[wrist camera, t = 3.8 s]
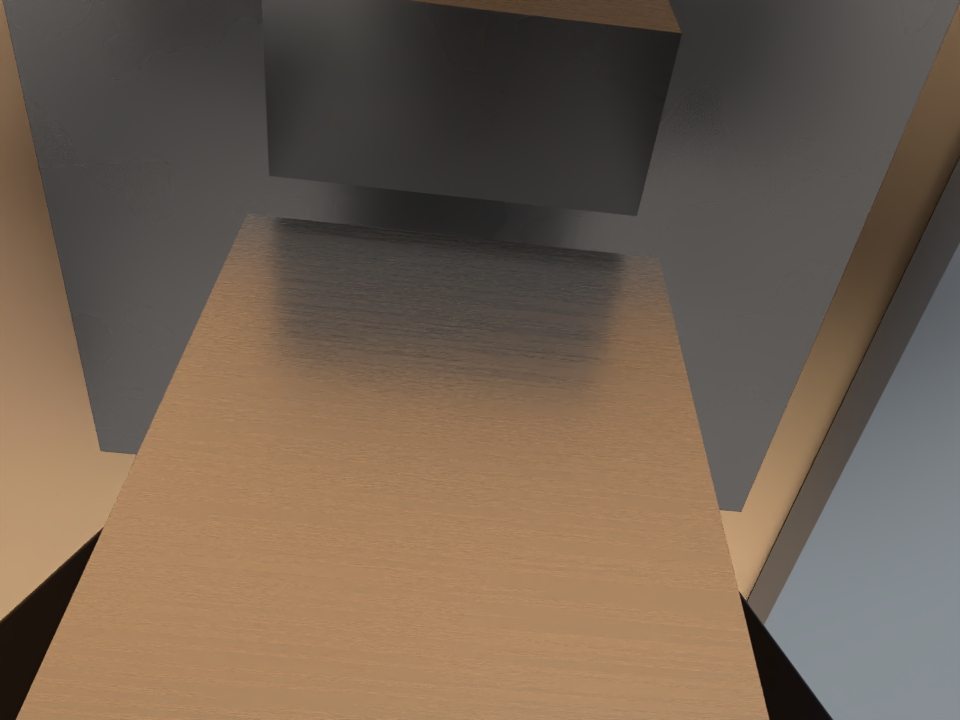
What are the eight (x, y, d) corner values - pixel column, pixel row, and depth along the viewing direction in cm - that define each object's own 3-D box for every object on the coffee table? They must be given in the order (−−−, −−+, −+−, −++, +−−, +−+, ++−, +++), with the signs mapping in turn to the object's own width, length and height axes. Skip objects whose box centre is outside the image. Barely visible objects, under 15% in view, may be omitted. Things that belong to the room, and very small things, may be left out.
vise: (119, 414, 17) (33, 584, 14) (4, -183, 11) (-193, -112, 8) (731, 473, 18) (777, 650, 15) (947, -64, 12) (1105, 46, 9)
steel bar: (264, 498, 13) (19, 1354, 6) (246, 213, 10) (-226, 1247, 3) (585, 528, 13) (656, 1384, 6) (659, 258, 10) (911, 1309, 4)
